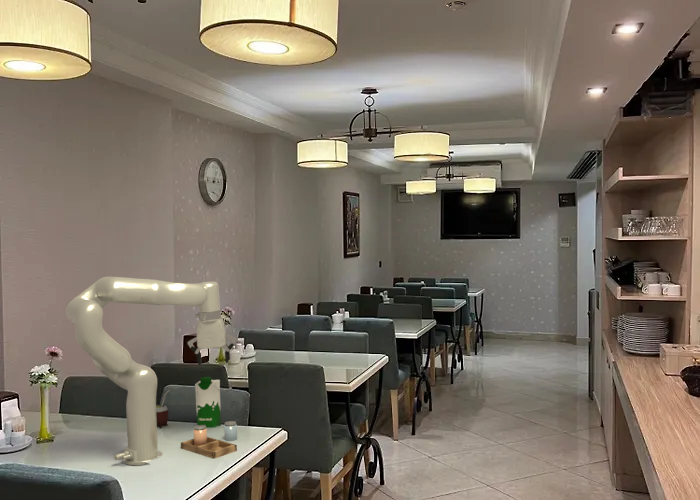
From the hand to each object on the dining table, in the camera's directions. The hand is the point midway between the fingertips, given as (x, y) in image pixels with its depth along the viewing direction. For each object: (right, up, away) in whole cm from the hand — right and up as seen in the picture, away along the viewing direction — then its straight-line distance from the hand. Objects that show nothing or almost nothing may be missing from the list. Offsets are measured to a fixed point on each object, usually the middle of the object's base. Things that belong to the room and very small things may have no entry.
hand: (213, 363), depth 238 cm
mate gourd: (-26, -29, +22) cm, 45 cm away
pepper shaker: (-2, -27, -10) cm, 29 cm away
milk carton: (-5, -28, +18) cm, 34 cm away
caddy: (+1, -29, -13) cm, 31 cm away
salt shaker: (+7, -28, -2) cm, 29 cm away
